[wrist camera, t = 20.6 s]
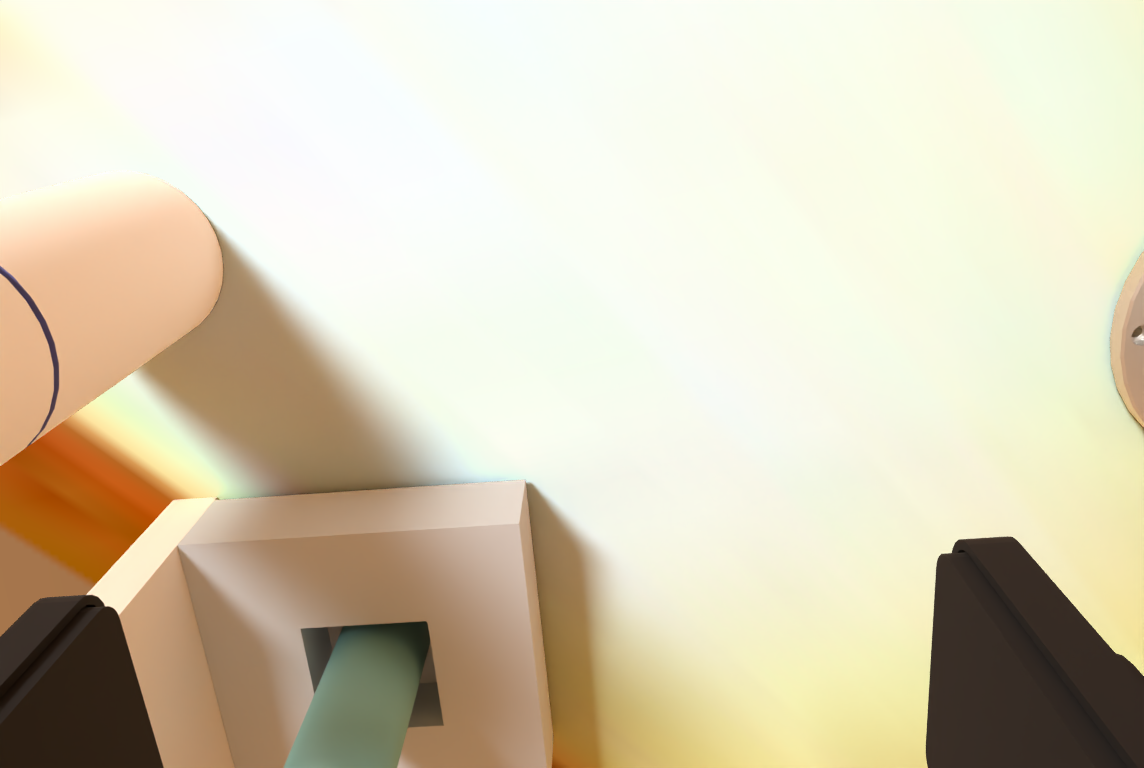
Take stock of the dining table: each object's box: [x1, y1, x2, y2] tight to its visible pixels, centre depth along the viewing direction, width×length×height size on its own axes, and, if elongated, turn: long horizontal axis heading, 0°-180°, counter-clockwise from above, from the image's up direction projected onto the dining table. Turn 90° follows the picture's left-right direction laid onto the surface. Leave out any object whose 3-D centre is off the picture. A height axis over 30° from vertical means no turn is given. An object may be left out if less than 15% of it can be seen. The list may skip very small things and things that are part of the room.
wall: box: [87, 497, 235, 768], centre depth 39 cm, size 2×14×10 cm, turn 4°
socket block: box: [177, 480, 553, 768], centre depth 41 cm, size 14×14×4 cm
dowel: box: [283, 621, 430, 768], centre depth 38 cm, size 4×4×10 cm
